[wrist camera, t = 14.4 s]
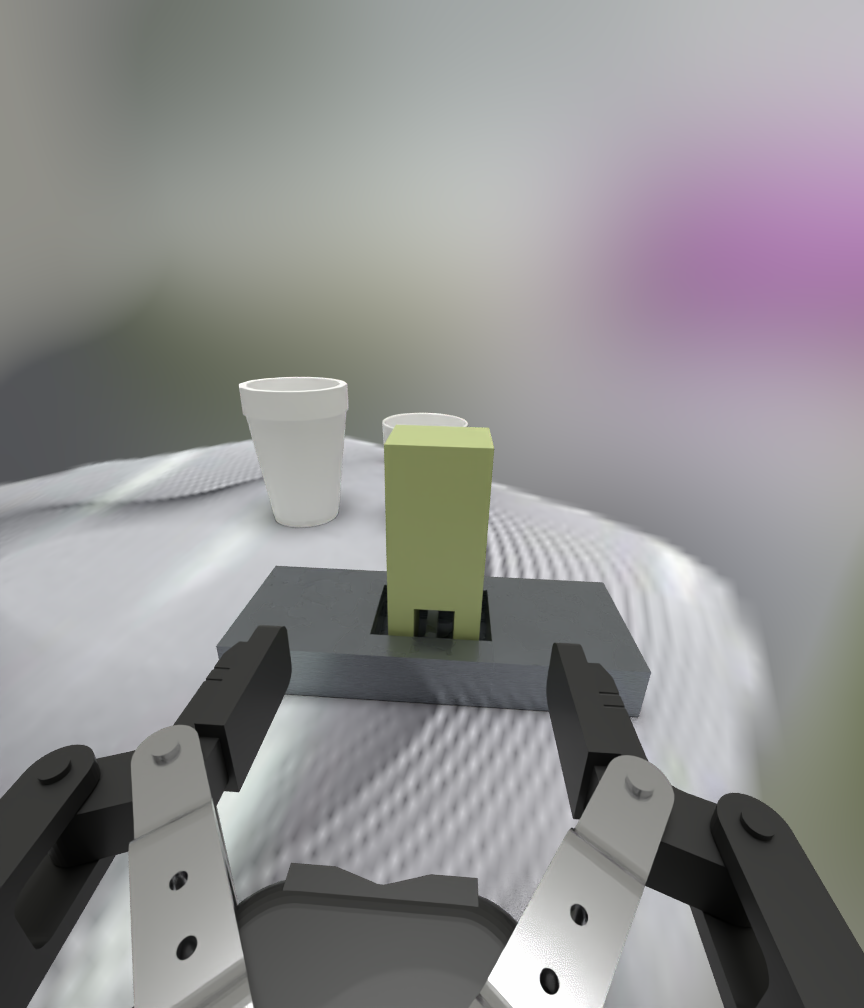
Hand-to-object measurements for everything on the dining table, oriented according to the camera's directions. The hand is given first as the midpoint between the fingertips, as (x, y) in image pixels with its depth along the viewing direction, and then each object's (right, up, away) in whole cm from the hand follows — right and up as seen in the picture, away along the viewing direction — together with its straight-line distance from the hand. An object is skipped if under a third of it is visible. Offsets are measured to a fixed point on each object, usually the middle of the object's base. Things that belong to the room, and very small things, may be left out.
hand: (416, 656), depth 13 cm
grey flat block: (0, -4, +14) cm, 15 cm away
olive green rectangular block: (+1, -4, +14) cm, 14 cm away
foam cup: (-12, +3, +32) cm, 35 cm away
